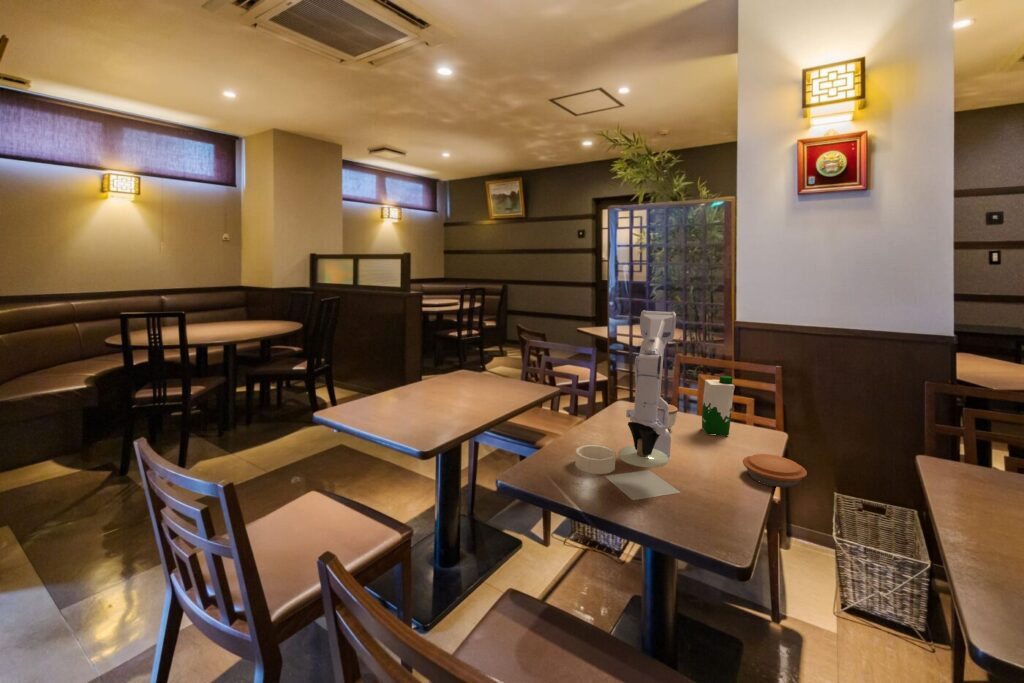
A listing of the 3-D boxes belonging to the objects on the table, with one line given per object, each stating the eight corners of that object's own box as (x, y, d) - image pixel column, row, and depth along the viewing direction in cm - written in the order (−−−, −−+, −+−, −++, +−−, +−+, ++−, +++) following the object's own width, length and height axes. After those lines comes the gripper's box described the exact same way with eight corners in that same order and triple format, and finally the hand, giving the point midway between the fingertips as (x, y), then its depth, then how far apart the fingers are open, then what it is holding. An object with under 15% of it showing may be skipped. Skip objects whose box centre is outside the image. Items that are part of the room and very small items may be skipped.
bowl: (602, 457, 144) (603, 443, 143) (622, 472, 133) (623, 457, 133) (569, 461, 140) (569, 447, 140) (586, 477, 130) (587, 462, 129)
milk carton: (732, 437, 163) (737, 380, 160) (704, 435, 165) (709, 378, 161) (724, 428, 172) (729, 374, 169) (698, 427, 173) (702, 373, 170)
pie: (819, 491, 125) (821, 472, 124) (762, 492, 124) (764, 474, 123) (781, 466, 140) (783, 450, 139) (730, 467, 139) (732, 450, 138)
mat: (648, 472, 134) (648, 469, 134) (680, 494, 121) (681, 492, 121) (604, 478, 130) (604, 476, 130) (632, 502, 117) (632, 500, 117)
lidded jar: (678, 434, 165) (680, 408, 164) (645, 431, 167) (647, 405, 166) (674, 424, 176) (675, 399, 174) (643, 422, 178) (645, 397, 176)
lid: (648, 446, 132) (649, 430, 132) (677, 464, 121) (679, 446, 120) (609, 451, 128) (610, 434, 127) (635, 470, 117) (636, 451, 116)
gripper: (617, 394, 128) (614, 443, 130) (649, 410, 114) (646, 464, 116) (640, 392, 130) (637, 440, 132) (674, 408, 116) (670, 461, 118)
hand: (643, 451), depth 124 cm, fingers closed on lid, 3 cm apart
